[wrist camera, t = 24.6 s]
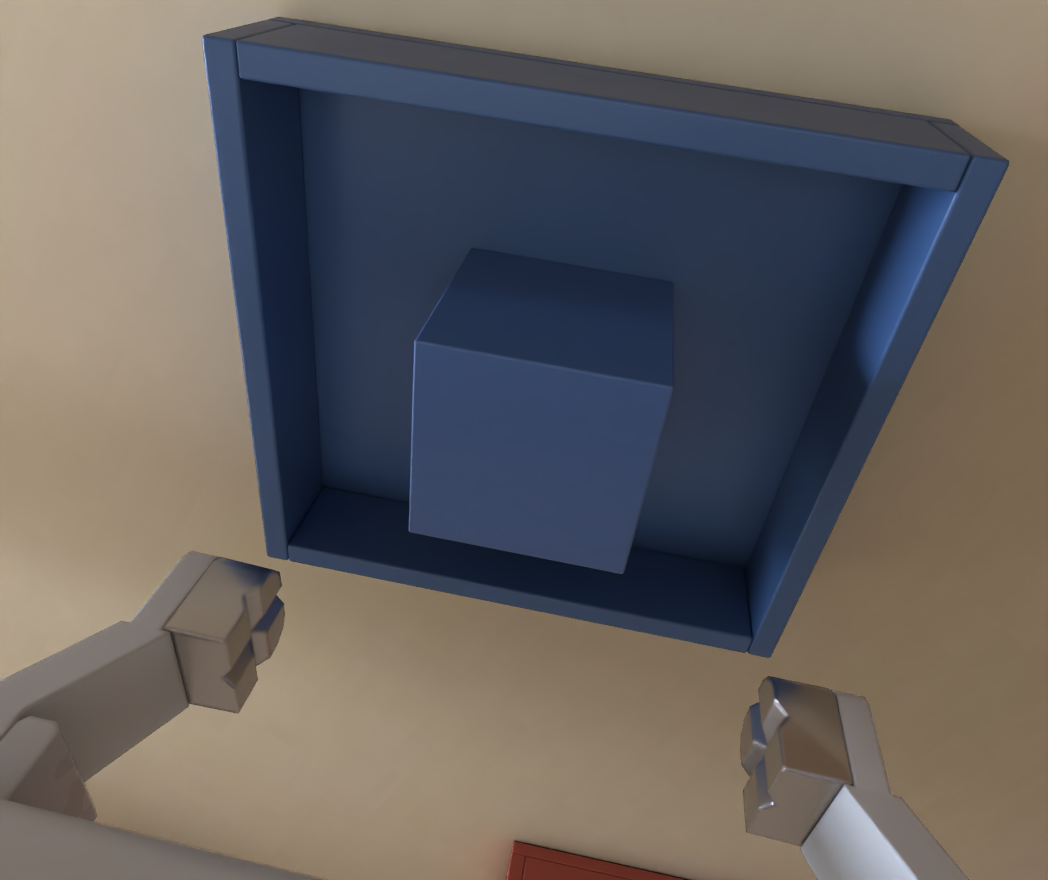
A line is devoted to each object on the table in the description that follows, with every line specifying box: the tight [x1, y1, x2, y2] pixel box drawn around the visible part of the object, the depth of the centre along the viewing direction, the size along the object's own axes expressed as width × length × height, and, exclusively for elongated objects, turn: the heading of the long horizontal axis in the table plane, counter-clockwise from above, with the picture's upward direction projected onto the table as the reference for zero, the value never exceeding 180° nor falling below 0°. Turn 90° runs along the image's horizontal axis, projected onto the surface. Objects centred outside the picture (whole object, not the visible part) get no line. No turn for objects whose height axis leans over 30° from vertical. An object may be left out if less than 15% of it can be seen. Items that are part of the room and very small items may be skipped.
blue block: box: [409, 248, 674, 574], centre depth 16 cm, size 4×4×4 cm
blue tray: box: [202, 17, 1009, 658], centre depth 17 cm, size 13×12×3 cm
